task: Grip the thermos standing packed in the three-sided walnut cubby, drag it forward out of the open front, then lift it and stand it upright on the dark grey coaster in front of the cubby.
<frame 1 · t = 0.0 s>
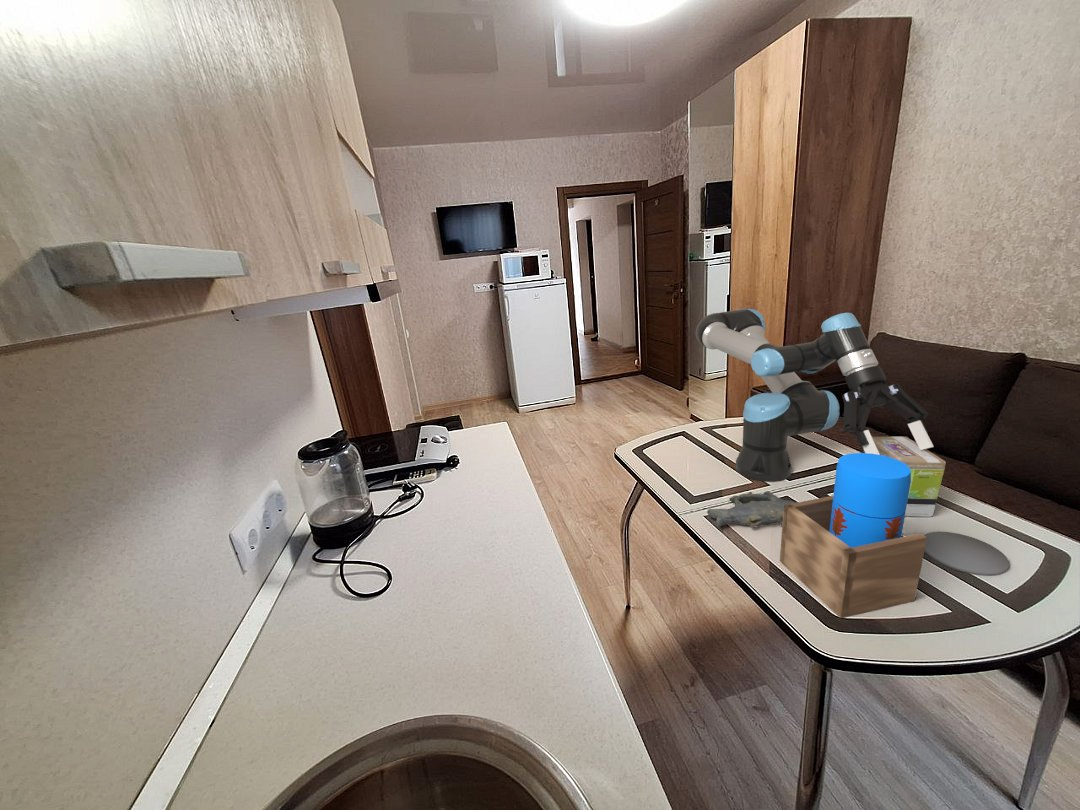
hand: (901, 453, 96), 16 cm above the table, tool tilted 35°, fingers open, 13 cm apart
tea box: (891, 500, 106), on the table, touching gripper
coaster: (961, 553, 86), on the table
stone fish figurine: (755, 515, 107), on the table
thermos: (857, 577, 84), on the table
walnut cubby: (841, 579, 83), on the table
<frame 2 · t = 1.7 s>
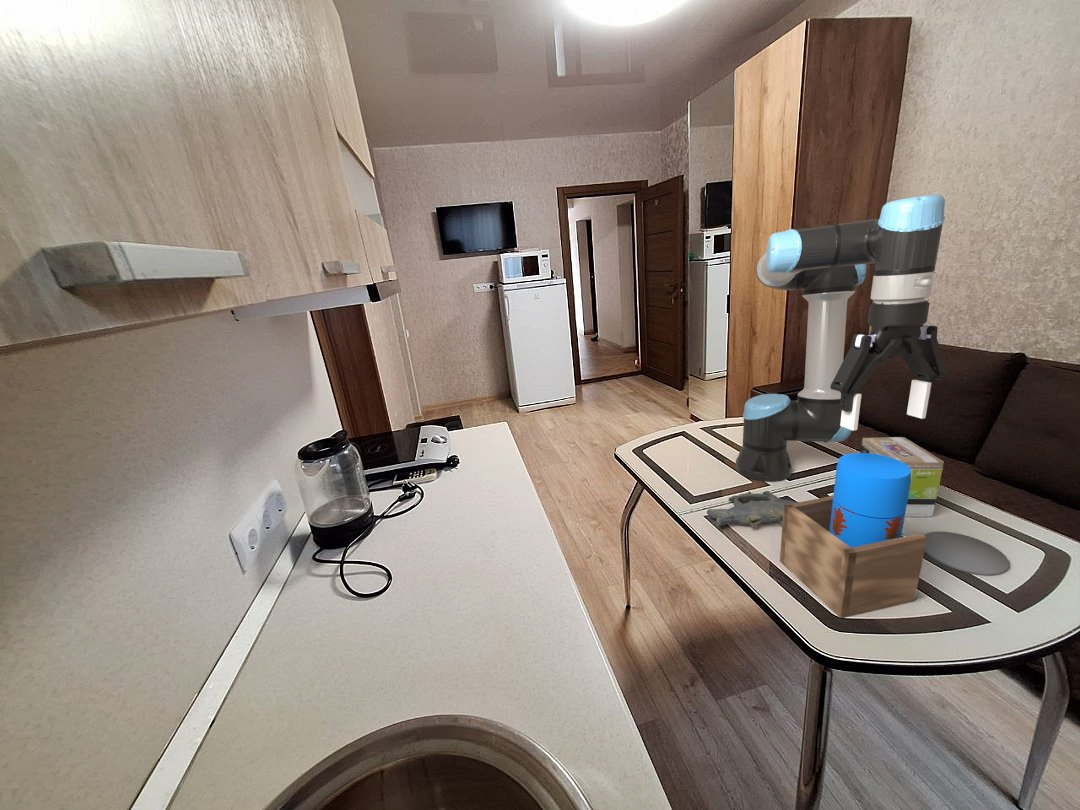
hand: (882, 422, 74), 33 cm above the table, tool pointing down, fingers open, 13 cm apart
tea box: (891, 501, 106), on the table
everything else where it was.
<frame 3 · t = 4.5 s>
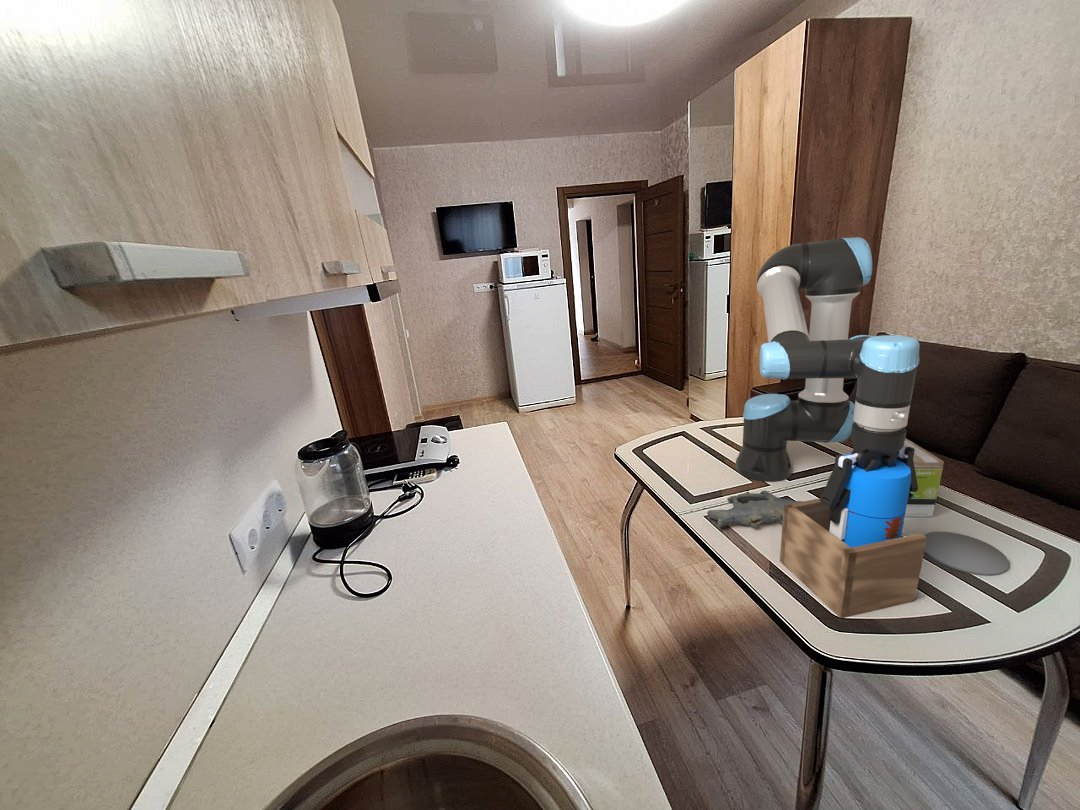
hand: (863, 530, 80), 11 cm above the table, tool pointing down, fingers closed on thermos, 11 cm apart
thermos: (857, 577, 84), on the table, touching gripper
everything else where it was.
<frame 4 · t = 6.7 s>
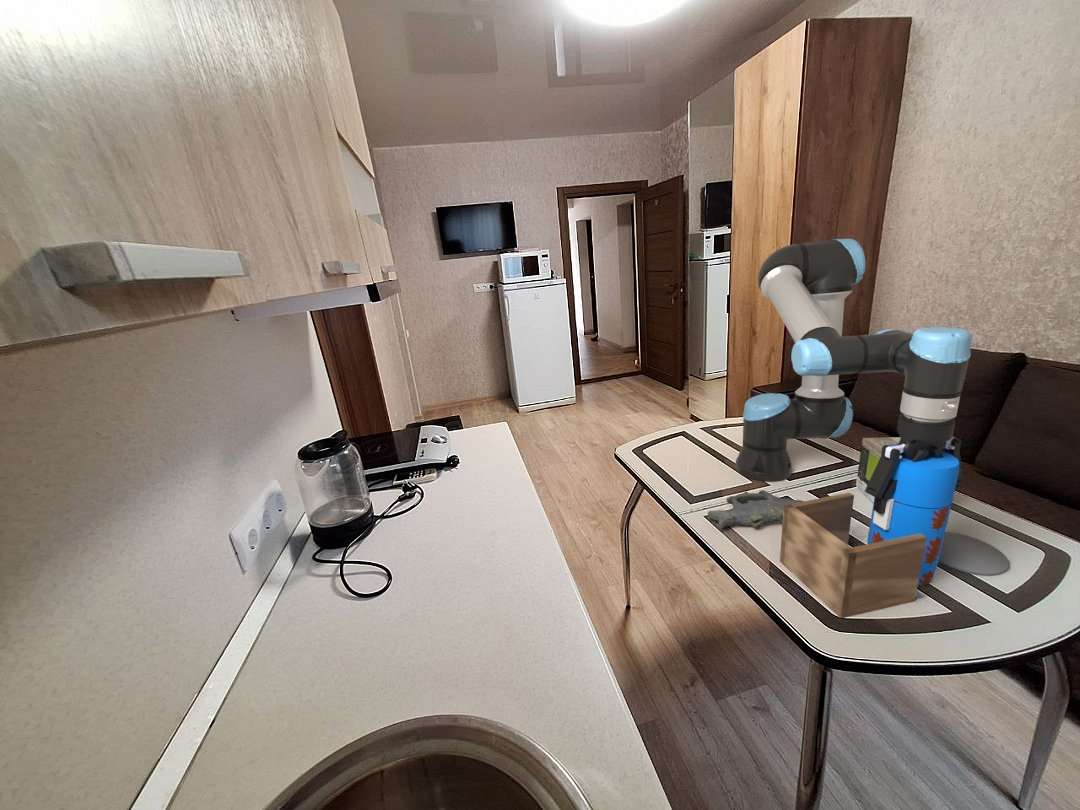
hand: (907, 520, 81), 11 cm above the table, tool pointing down, fingers closed on thermos, 11 cm apart
thermos: (897, 568, 85), on the table, touching gripper
everything else where it was.
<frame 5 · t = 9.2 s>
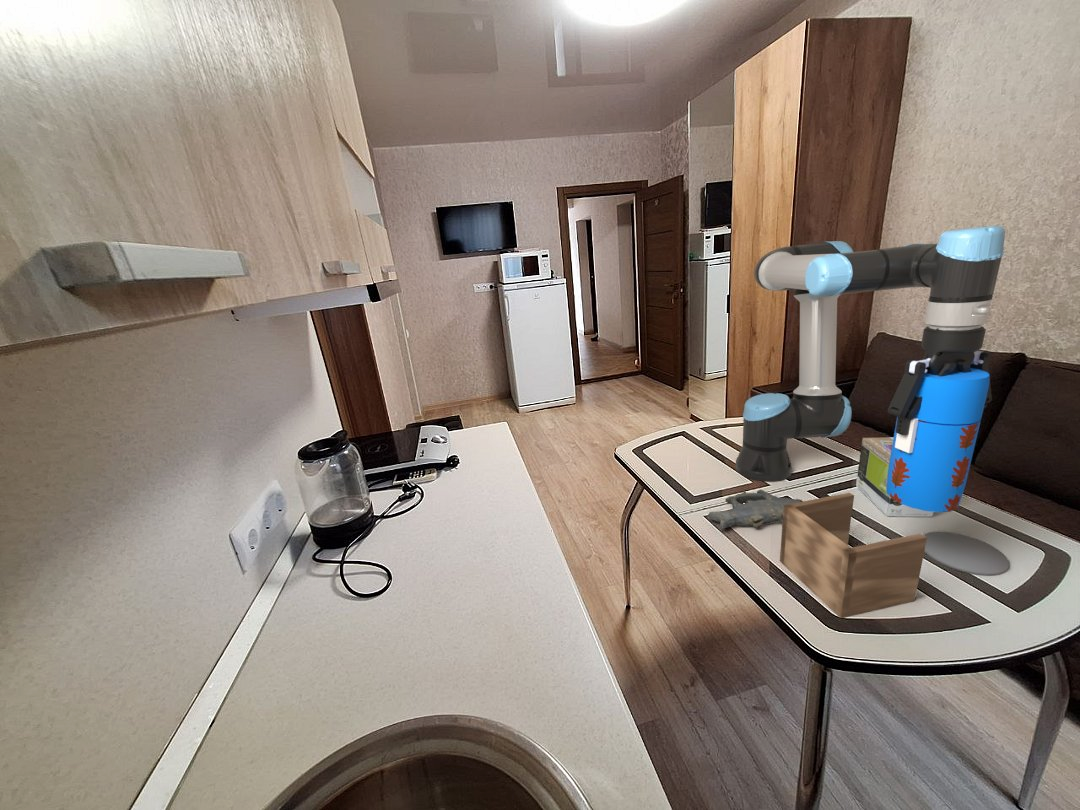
hand: (931, 444, 77), 27 cm above the table, tool pointing down, fingers closed on thermos, 11 cm apart
thermos: (920, 497, 80), point 16 cm above the table, touching gripper
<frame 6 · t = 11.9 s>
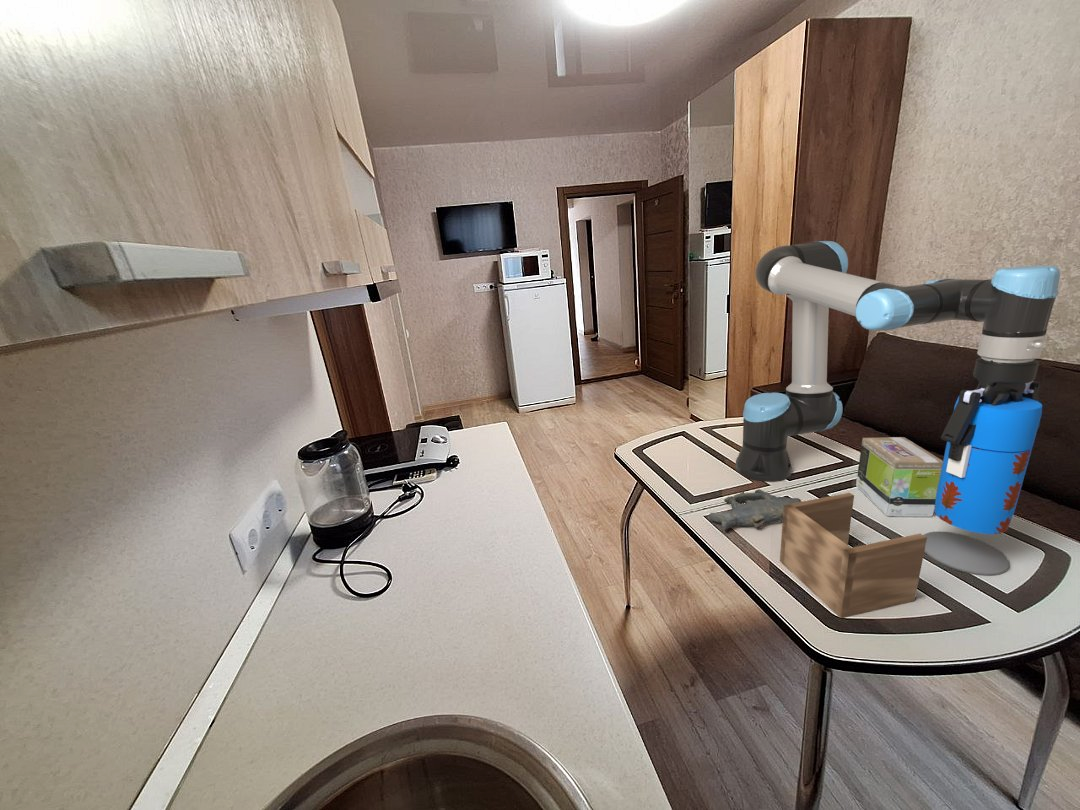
hand: (981, 469, 80), 20 cm above the table, tool pointing down, fingers closed on thermos, 11 cm apart
thermos: (969, 519, 84), point 8 cm above the table, touching gripper
when the fingers open (13 cm above the table, at t = 14.3 s): thermos drops 1 cm, point 1 cm above the table.
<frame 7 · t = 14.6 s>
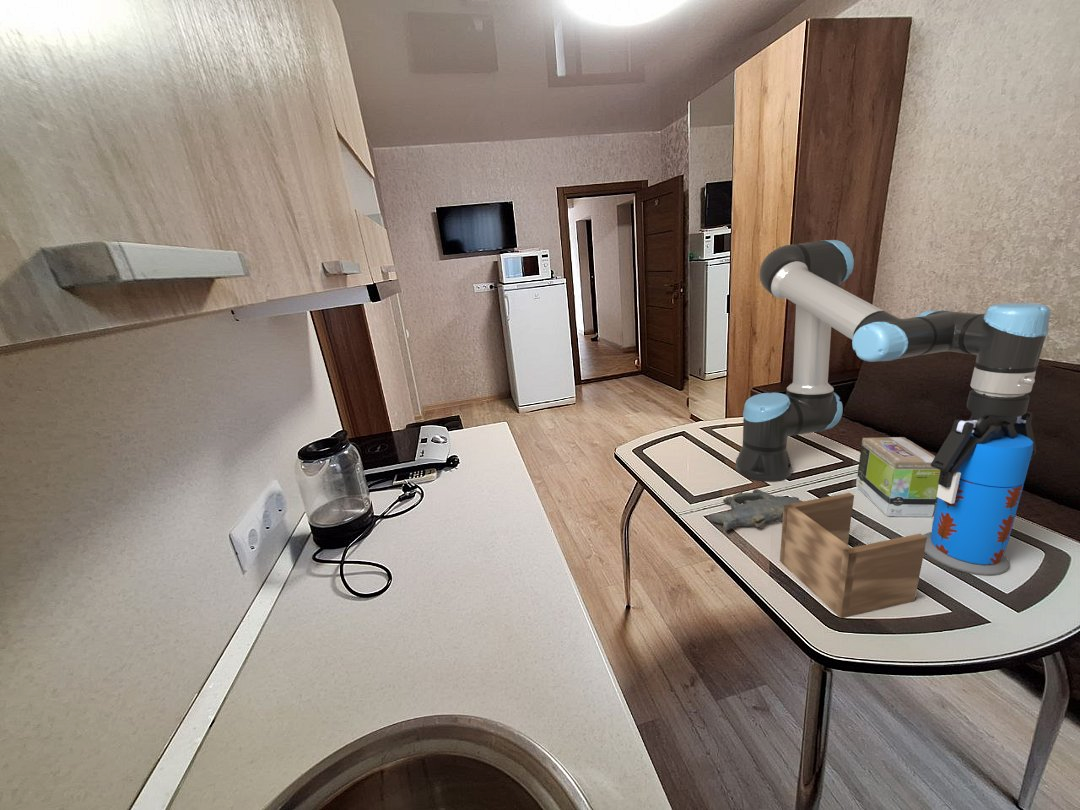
hand: (975, 494, 82), 14 cm above the table, tool pointing down, fingers open, 13 cm apart
thermos: (964, 548, 86), point 1 cm above the table
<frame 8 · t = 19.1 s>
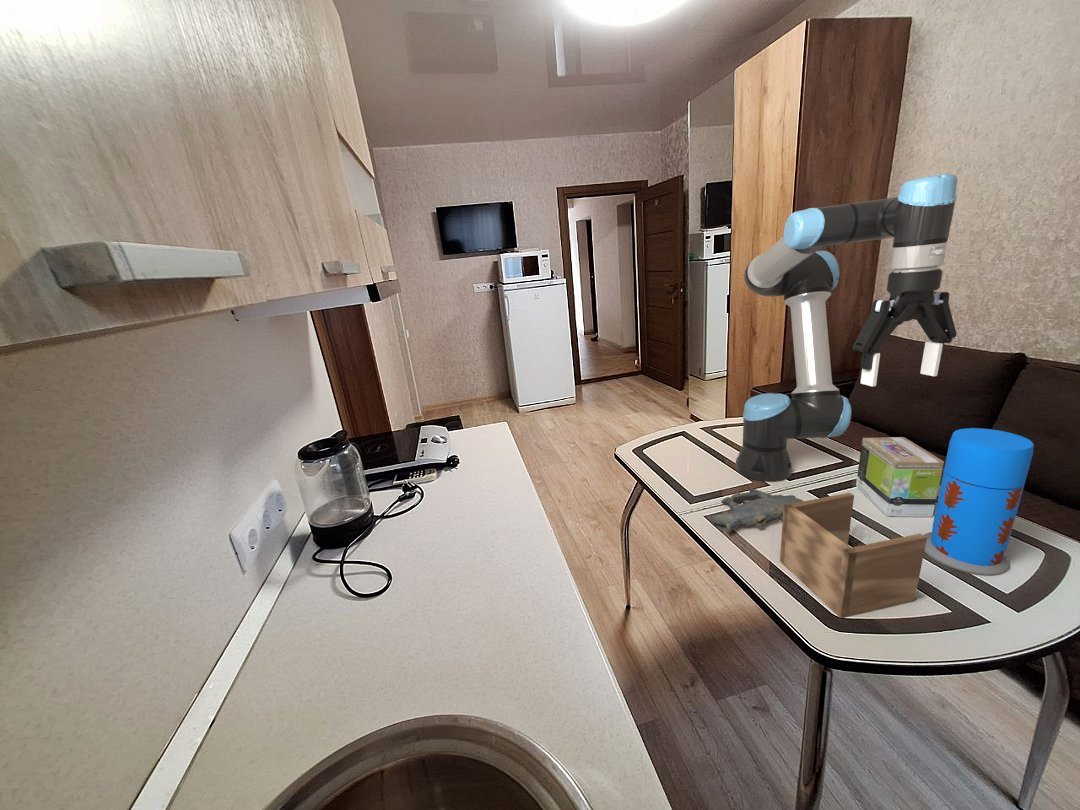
hand: (898, 379, 83), 37 cm above the table, tool pointing down, fingers open, 13 cm apart
thermos: (965, 549, 86), point 1 cm above the table, touching coaster
at the end: thermos 0.9 cm off-centre on the coaster, point 0.6 cm above the coaster's base; thermos tilted 0°; the gripper is holding nothing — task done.
